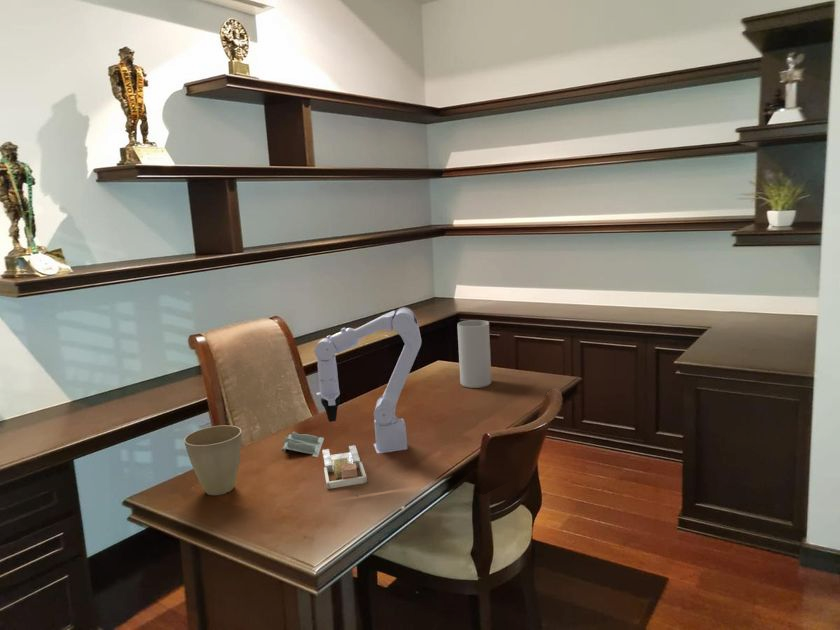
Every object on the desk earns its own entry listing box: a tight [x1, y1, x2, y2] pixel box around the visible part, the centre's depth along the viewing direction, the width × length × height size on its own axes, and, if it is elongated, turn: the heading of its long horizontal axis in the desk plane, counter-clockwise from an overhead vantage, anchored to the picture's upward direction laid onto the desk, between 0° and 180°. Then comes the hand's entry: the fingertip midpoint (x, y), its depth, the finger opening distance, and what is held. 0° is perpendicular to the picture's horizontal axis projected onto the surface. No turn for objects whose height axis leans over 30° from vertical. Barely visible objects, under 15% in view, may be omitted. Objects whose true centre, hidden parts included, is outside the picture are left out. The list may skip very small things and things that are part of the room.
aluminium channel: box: [321, 444, 361, 473], centre depth 183 cm, size 10×12×3 cm
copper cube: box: [341, 463, 358, 480], centre depth 171 cm, size 4×4×4 cm
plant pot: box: [183, 424, 242, 496], centre depth 170 cm, size 15×15×16 cm
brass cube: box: [333, 458, 349, 480], centre depth 174 cm, size 4×4×4 cm
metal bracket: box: [281, 431, 325, 458], centre depth 195 cm, size 14×6×15 cm
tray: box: [323, 461, 368, 490], centre depth 172 cm, size 11×10×2 cm
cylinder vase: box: [456, 319, 492, 389], centre depth 249 cm, size 12×12×25 cm
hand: (332, 420), depth 191 cm, fingers closed
